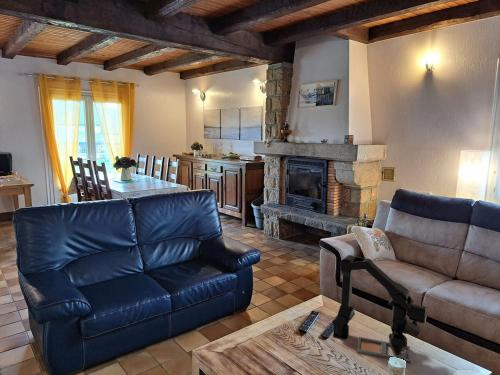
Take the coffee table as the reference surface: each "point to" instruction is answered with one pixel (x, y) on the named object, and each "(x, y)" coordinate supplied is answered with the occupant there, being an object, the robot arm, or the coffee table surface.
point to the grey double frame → (377, 348)
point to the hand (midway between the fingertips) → (397, 348)
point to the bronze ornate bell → (392, 346)
